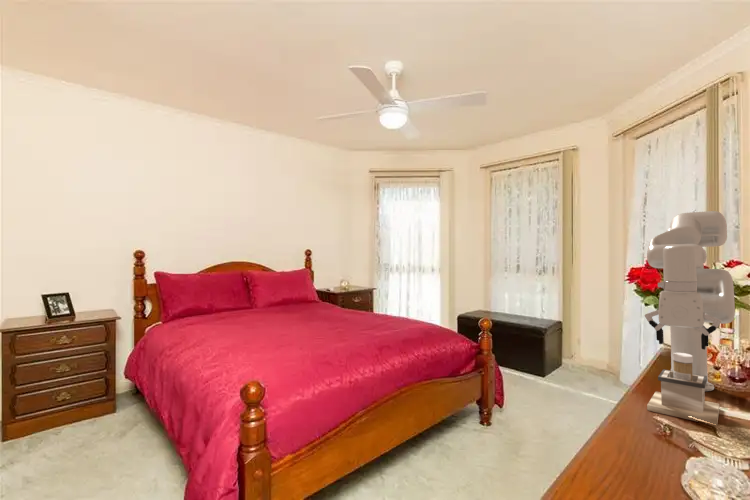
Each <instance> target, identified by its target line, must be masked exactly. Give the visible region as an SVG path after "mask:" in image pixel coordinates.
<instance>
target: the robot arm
mask: <svg viewBox="0 0 750 500" xmlns="http://www.w3.org/2000/svg"><path fill="white" fill-rule="evenodd" d="M727 239H728V227H727V220H726V218H725V216H724V215H723V214H722V212H719V211H717V210H716V211H715V210H710V211H709V210H708V211H707V210H706V211H692V212H690V211H689V212H683V213H680V214H677V215H676V216H674V217H673V218H672V219H671V222H670V225H669V228H667V229H666V231H664V232H662V233H660V234H657V235H656V236H654V237H653V238H651V240H650V242H649V244H648V249H647V252H646V260H647V263H648V265H649V266H650V267H652V268H653V269H663V272H662V273H663V281H661V282H657V287H658V288H661V289H663V290H661V291H660V293H659V298H658V309H656V310H653V311H650V312H647V313H645V314H644V317H645V318H646V321H647V322H648V324H649V325H650V326H651V327H652V328H654V330H655V331H656V332H655V333H656V341H658V344H659V345H663V344H664V342H665V341H664V329H663V327H665V326H667V327H669V330H670V357H671V358H670V359H671V360H670V361H671V362H670V365H671V367H670V370H671V371H673V370H674V361H673V353H686V354H690V355H692V356H693V364H692V374H696V375H702V376H707V382H706V386H705V392H711V391H714V390H715V385H714V384H713V383H711V382H709V381H708V379H709V378H708V375H709V373H708V347H709V346H710V345H709V335H710V334H712V333H713V332H715V331H716V330H717V329H718V327H719V326H720V325H721V324H730V323H732V322H733V321H734V319H735V315H736V306H735V303H736V302H735V290H734V288H735V287H734V279H733V277H732V274H731V273H730V272H729V271H728V270H725V269H721V268H705V267H704V265H705V263H706V261H707V256H708V255H707V251H706V250H705V248H707V247H709V248H711V247H713V248H714V247H721V246H723V245H725V243H726V241H727ZM703 247H705V248H703ZM655 316H658V322H656V321H655V320H654V318H653V317H655ZM704 323H708V324H709V323H711V325H710V326H709V327H706V326H705V324H704Z"/></svg>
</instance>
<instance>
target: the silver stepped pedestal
mask: <svg viewBox="0 0 750 500" xmlns="http://www.w3.org/2000/svg"><path fill="white" fill-rule="evenodd" d="M692 380H693V381H688V380H682V379H676V378H673V371H671V369H670V370H669V369H662V371H661V372H660V374H659V375H658V376H657V381H659V382H660V391H661V392H660V391H655V392H654V394H653V395H652V396H651V398H650V399H649V401H648V403H647V404H646V408H647V409H646V410H647V411H650V412H654V413H657V414H663V415H667V416H671V417H677V418H681V419H685V420H690V421H692V422H693V421H694V422H697V421H696V420H695V419H693V418H689V417H688V416H692V417H695V418H697V419H701V420H704V421H707V422H710V423H713V424H716V425H717V426H718V423H719V422H718V420H719V415H720V409H719V408H720V403H718V402H717V403H716V402H712V401H707V400H706V396H705V395H706V393H705V392H706V391H705V386H706V382H707V376H702V375H696V374H692ZM716 425H715V426H716Z"/></svg>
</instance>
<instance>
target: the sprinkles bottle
mask: <svg viewBox="0 0 750 500" xmlns="http://www.w3.org/2000/svg"><path fill="white" fill-rule="evenodd" d="M673 361H674V370H673V378H676V379H682V380H688V381H693V380H692V364H693V356H692V355H690V354H686V353H673Z"/></svg>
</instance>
